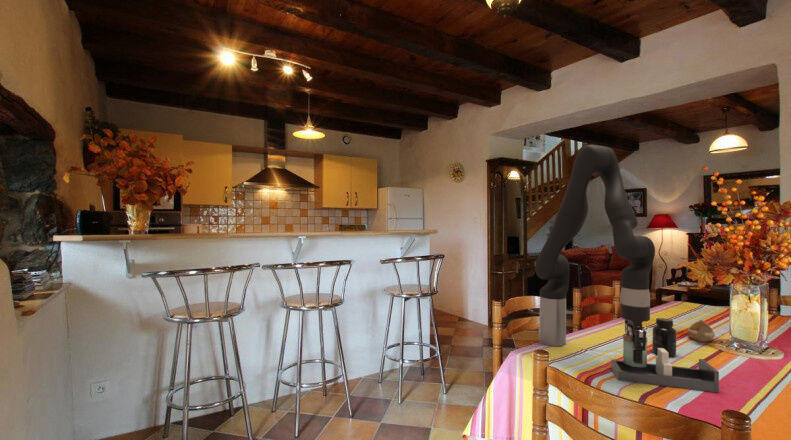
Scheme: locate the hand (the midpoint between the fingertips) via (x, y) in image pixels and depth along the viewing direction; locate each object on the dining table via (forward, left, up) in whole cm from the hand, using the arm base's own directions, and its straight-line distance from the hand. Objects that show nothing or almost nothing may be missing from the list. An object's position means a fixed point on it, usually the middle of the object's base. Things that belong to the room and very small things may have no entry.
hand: (634, 359), depth 115 cm
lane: (+7, 0, -5) cm, 8 cm away
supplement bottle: (+15, +25, -5) cm, 30 cm away
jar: (0, 0, -1) cm, 1 cm away
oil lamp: (+34, +49, -5) cm, 60 cm away
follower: (+7, 0, -5) cm, 9 cm away
